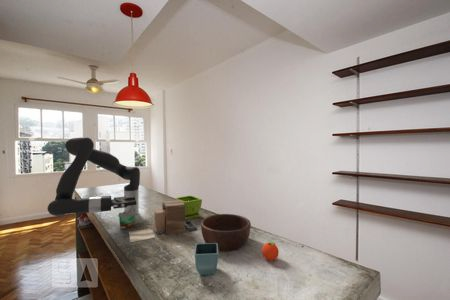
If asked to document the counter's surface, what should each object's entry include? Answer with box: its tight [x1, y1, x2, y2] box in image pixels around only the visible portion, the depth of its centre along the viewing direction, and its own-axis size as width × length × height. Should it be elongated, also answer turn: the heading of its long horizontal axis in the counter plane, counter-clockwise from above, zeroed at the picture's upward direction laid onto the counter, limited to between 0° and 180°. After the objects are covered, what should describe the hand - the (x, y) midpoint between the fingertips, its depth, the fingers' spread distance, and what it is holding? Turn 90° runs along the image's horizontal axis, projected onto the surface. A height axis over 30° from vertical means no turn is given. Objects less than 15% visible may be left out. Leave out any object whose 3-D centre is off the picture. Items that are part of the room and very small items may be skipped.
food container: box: [118, 207, 137, 231], centre depth 125 cm, size 12×6×10 cm, turn 168°
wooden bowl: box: [200, 213, 252, 252], centre depth 107 cm, size 25×25×10 cm
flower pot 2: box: [194, 243, 219, 276], centre depth 82 cm, size 9×9×9 cm
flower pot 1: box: [174, 195, 203, 221], centre depth 143 cm, size 14×14×13 cm
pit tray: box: [185, 219, 198, 232], centre depth 126 cm, size 12×5×2 cm, turn 27°
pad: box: [128, 227, 156, 243], centre depth 114 cm, size 14×12×1 cm
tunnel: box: [161, 199, 186, 236], centre depth 122 cm, size 12×10×16 cm
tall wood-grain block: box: [154, 209, 166, 234], centre depth 120 cm, size 7×15×11 cm, turn 117°
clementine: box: [261, 241, 280, 261], centre depth 91 cm, size 8×7×7 cm
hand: (135, 200), depth 112 cm, fingers open, 8 cm apart
